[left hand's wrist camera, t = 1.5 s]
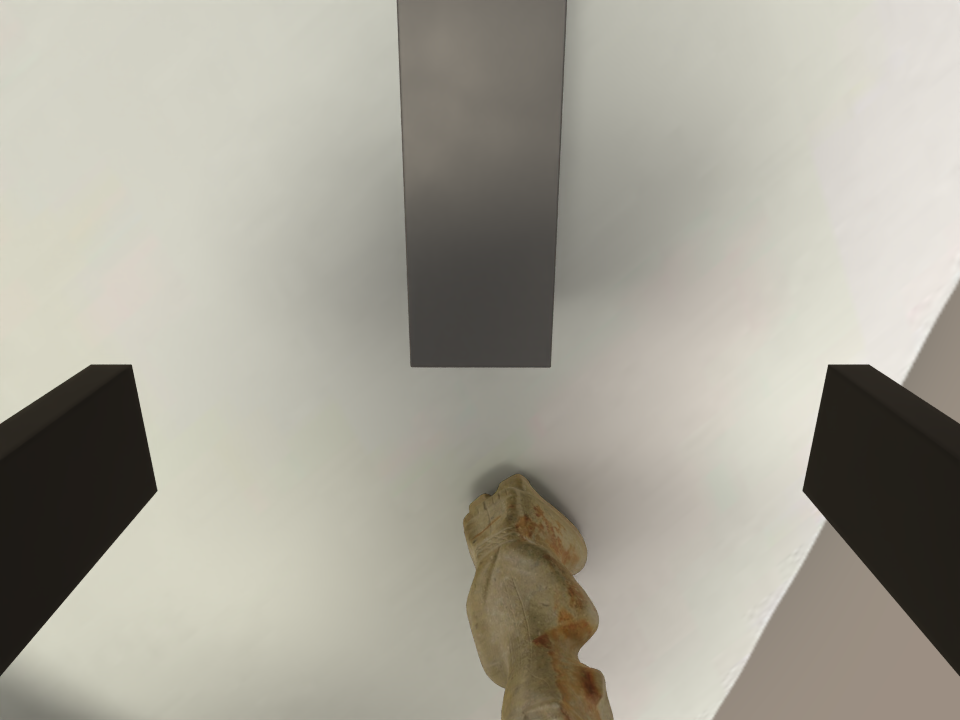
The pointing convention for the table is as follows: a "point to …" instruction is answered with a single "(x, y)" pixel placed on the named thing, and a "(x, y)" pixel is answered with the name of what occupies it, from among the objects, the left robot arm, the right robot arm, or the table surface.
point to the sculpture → (532, 606)
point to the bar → (481, 177)
